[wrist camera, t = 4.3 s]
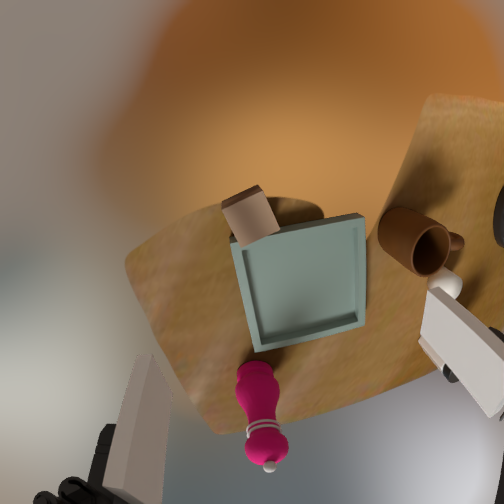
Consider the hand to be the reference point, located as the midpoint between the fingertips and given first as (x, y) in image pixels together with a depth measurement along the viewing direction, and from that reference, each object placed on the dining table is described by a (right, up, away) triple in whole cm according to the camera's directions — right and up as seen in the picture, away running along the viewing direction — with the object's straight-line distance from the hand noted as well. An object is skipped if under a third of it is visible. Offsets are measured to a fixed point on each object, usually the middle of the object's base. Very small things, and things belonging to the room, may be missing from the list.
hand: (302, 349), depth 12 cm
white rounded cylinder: (+32, 0, +32) cm, 45 cm away
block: (-3, +10, +25) cm, 27 cm away
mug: (+22, +8, +28) cm, 37 cm away
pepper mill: (-2, -17, +35) cm, 39 cm away
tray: (+5, 0, +29) cm, 30 cm away
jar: (+36, -13, +38) cm, 54 cm away
